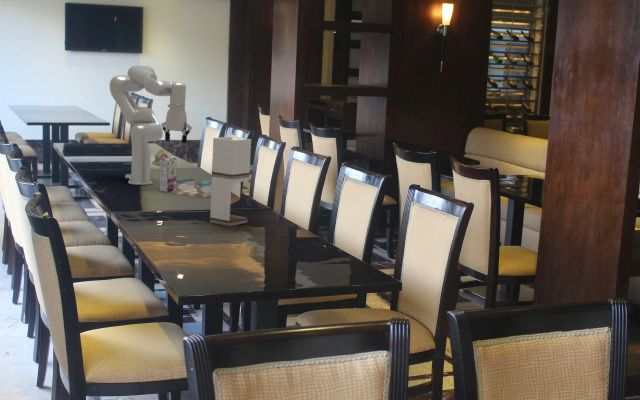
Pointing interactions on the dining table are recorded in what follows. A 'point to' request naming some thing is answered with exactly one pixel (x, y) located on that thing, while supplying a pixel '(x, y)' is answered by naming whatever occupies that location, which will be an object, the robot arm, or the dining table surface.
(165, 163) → the candy bar box
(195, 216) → the dining table surface
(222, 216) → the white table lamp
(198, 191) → the rail board
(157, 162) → the ceramic model
